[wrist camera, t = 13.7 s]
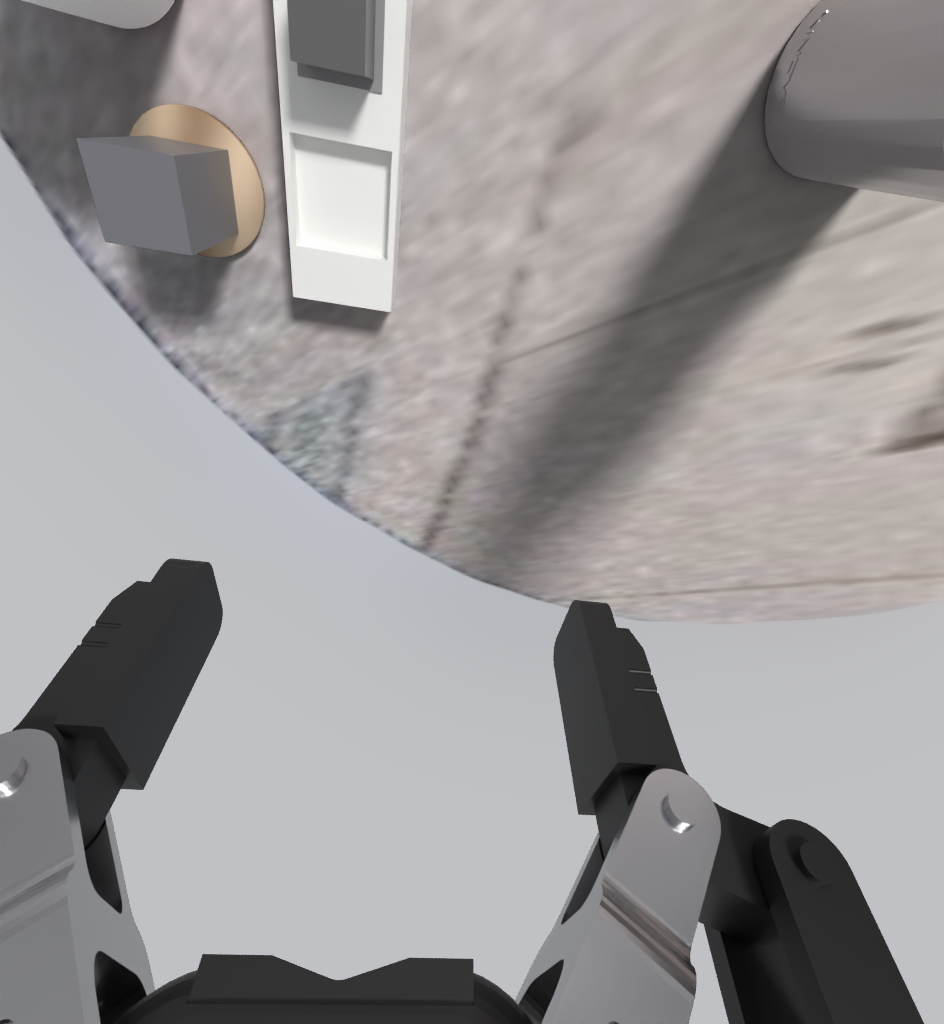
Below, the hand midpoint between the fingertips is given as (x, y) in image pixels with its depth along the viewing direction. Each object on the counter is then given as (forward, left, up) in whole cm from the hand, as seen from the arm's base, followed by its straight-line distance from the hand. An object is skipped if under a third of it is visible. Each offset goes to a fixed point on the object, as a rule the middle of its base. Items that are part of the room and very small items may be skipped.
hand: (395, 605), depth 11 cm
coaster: (+16, -3, -30) cm, 34 cm away
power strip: (+7, -11, -30) cm, 33 cm away
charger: (+16, -3, -30) cm, 34 cm away
